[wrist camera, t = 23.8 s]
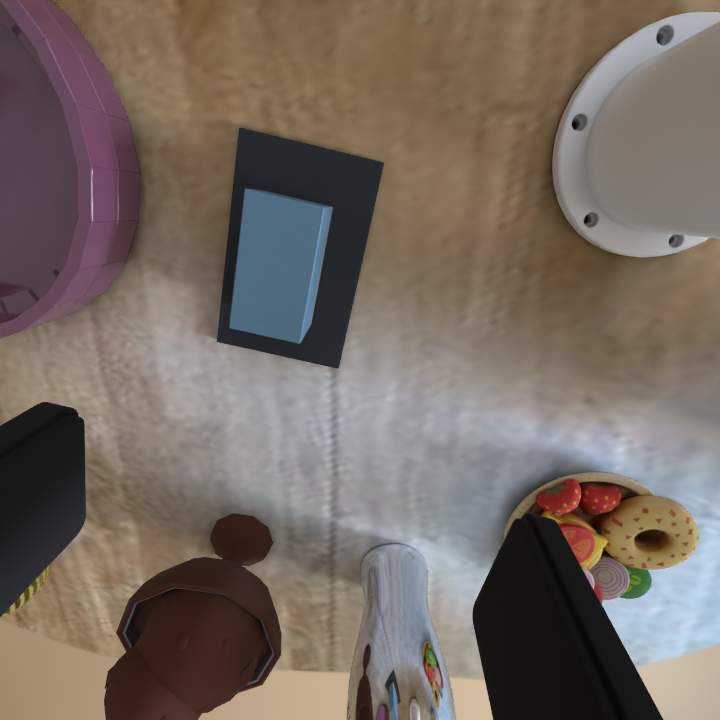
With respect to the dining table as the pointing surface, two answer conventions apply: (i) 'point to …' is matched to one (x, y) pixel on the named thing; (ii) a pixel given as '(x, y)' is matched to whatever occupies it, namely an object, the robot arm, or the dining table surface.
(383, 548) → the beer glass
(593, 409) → the dining table surface
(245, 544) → the ice cream bowl
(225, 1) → the dining table surface
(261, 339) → the rubber mat
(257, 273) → the block
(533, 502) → the toy food set
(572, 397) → the dining table surface
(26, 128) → the serving bowl
